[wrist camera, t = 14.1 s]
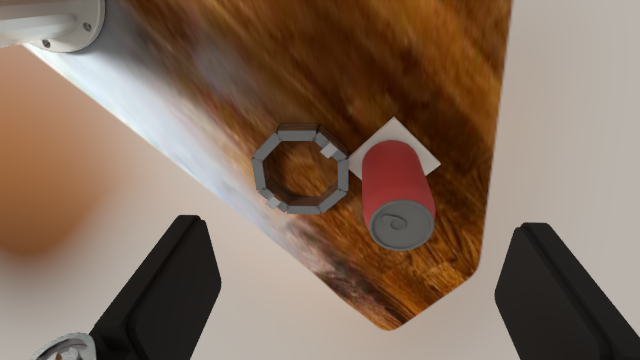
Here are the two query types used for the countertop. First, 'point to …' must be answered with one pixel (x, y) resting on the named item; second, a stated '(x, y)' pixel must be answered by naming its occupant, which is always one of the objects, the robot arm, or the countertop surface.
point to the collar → (328, 148)
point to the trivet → (392, 132)
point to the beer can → (396, 196)
